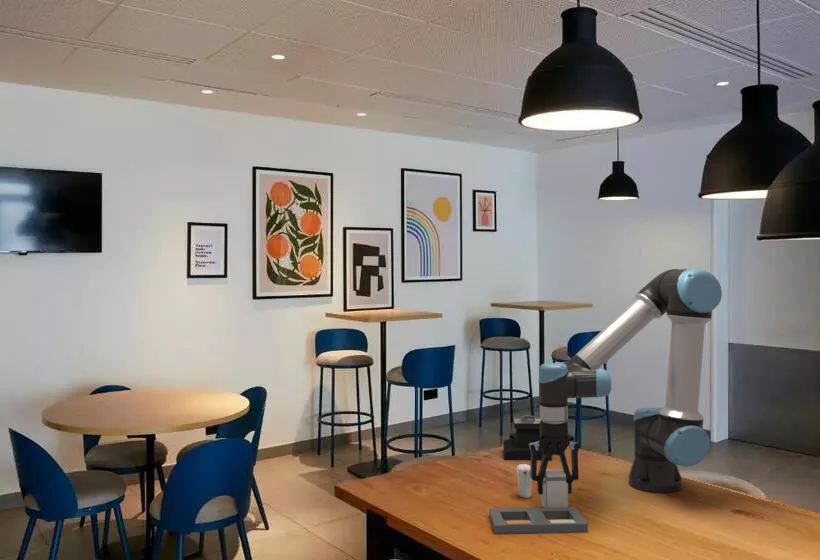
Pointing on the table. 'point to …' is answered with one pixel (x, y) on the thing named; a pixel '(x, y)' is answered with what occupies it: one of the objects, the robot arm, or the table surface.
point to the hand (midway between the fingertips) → (554, 505)
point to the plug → (555, 488)
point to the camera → (523, 439)
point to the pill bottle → (524, 480)
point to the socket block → (537, 520)
